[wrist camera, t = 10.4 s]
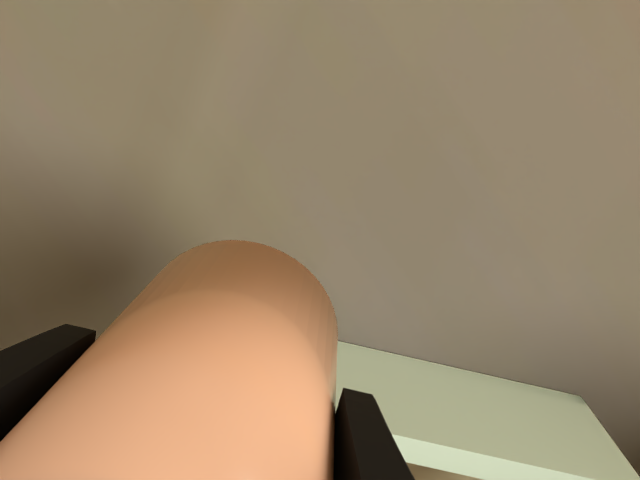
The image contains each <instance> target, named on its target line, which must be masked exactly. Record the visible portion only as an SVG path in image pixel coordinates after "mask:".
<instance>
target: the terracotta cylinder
mask: <svg viewBox="0 0 640 480" xmlns="http://www.w3.org/2000/svg"><path fill="white" fill-rule="evenodd" d="M337 344H338V328H337V320H336V316H335V312H334V308H333V306H332V303H331V301H330V298H329V296H328V295H327V293H326V291H325V290H324V288H323V286H322V285H321V284H320V282H319V281H318V280H317V279H316V277H315V276H314V275H313V274H312V273H311V272H310V271H309V270H308V269H307V268H306V267H305V266H303V265H302V264H301V263H299V262H298V261H297V260H295V259H294V258H292V257H290V256H289V255H287V254H285V253H284V252H281V251H279V250H277V249H275V248H272V247H269V246H266V245H263V244H259V243H255V242H249V241H240V240H225V241H216V242H211V243H206V244H203V245H200V246H197V247H194V248H192V249H190V250H188V251H186V252H184V253H182V254H180V255H179V256H178V257H176V258H175V259H173V260H172V261H171V262H170V263H169V264H168V265H167V266H166V267H164V268H163V269H162V270H161V272H160V273H159V274H158V275H157V276H156V277H155V278H154V279H153V280H152V281H151V282H150V283H149V284H148V285H147V286H146V288H145V289H144V290H143V291H142V292H141V293H140V294H139V295H138V296H137V297H136V298H135V299H134V300H133V301H132V302H131V303H130V305H129V306H128V307H127V308H126V309H125V310H124V311H123V312H122V313H121V314H120V315H119V316H118V317H117V318H116V319H115V320H114V322H113V323H112V324H111V325H110V326H109V327H108V328H107V329H106V330H105V331H104V332H103V333H102V334H101V335H100V336H99V337H98V339H97V340H96V341H95V342H94V343H93V344H92V345H91V346H90V347H89V348H88V349H87V350H86V351H85V352H84V353H83V354H82V356H81V357H80V358H79V359H78V360H77V361H76V362H75V363H74V364H73V365H72V366H71V367H70V368H69V369H68V370H67V371H66V373H65V374H64V375H63V376H62V377H61V378H60V379H59V380H58V381H57V382H56V383H55V384H54V385H53V386H52V387H51V389H50V390H49V391H48V392H47V393H46V394H45V395H44V396H43V397H42V398H41V399H40V400H39V401H38V402H37V403H36V404H35V406H34V407H33V408H32V409H31V410H30V411H29V412H28V413H27V414H26V415H25V416H24V417H23V418H22V419H21V420H20V421H19V423H18V424H17V425H16V426H15V427H14V428H13V429H12V430H11V431H10V432H9V433H8V434H7V435H6V436H5V437H4V438H3V440H2V441H1V442H0V480H333V474H334V442H335V409H336V377H337Z"/></svg>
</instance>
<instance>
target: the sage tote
mask: <svg viewBox="0 0 640 480" xmlns="http://www.w3.org/2000/svg"><path fill="white" fill-rule="evenodd" d="M343 388H347V389H351V390H356V391H360V392H364V393H369V394H372V395H373V396H374V398H375V400H376V401H377V404H378V406H379V408H380V410H381V412H382V415H383V417H384V419H385V421H386V423H387V425H388V428H389V430H390V432H391V434H392V436H393V438H394V440H395V442H396V444H397V446H398V448H399V450H400V452H401V454H402V456H403V458H404V460H405V462H407V463H412V464H416V465H421V466H425V467H430V468H434V469H439V470H443V471H448V472H452V473H457V474H461V475H466V476H470V477H475V478H479V479H484V480H640V477H639V476H638V474H637V473H636V471H635V470H634V469H633V467H632V466H631V465H630V463H629V462H628V460H627V459H626V458H625V456H624V455H623V454H622V452H621V451H620V449H619V448H618V447H617V445H616V444H615V443H614V441H613V440H612V438H611V437H610V436H609V434H608V433H607V432H606V430H605V429H604V427H603V426H602V425H601V423H600V422H599V421H598V419H597V418H596V416H595V415H594V414H593V412H592V411H591V410H590V408H589V407H588V405H587V404H586V403H585V401H584V400H583V399H582V397H581V396H578V395H573V394H569V393H564V392H560V391H556V390H551V389H547V388H542V387H538V386H534V385H529V384H525V383H520V382H516V381H512V380H507V379H503V378H499V377H494V376H490V375H485V374H481V373H477V372H472V371H468V370H463V369H459V368H455V367H450V366H446V365H442V364H437V363H433V362H428V361H424V360H420V359H415V358H411V357H406V356H402V355H398V354H393V353H389V352H385V351H380V350H376V349H371V348H367V347H363V346H358V345H354V344H349V343H345V342H341V341H338V344H337V377H336V409H335V413H336V410H337V407H338V403H339V400H340V396H341V393H342V390H343Z"/></svg>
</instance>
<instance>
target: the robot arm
mask: <svg viewBox="0 0 640 480" xmlns="http://www.w3.org/2000/svg"><path fill="white" fill-rule="evenodd" d="M95 336H96V331H94V330H90V329H86V328H81V327H77V326H73V325H68V324H65V325H62V326H59V327H56V328H54V329H51V330H49V331H46V332H44V333H41V334H39V335H37V336H34V337H32V338H30V339H27V340H25V341H23V342H20V343H18V344H16V345H13V346H11V347H9V348H6V349H4V350H2V351H0V442H1V441H2V440H3V438H4V437H5V436H6V435H7V434H8V433H9V432H10V431H11V430H12V429H13V428H14V427H15V426H16V425H17V424H18V423H19V421H20V420H21V419H22V418H23V417H24V416H25V415H26V414H27V413H28V412H29V411H30V410H31V409H32V408H33V407H34V406H35V404H36V403H37V402H38V401H39V400H40V399H41V398H42V397H43V396H44V395H45V394H46V393H47V392H48V391H49V390H50V389H51V387H52V386H53V385H54V384H55V383H56V382H57V381H58V380H59V379H60V378H61V377H62V376H63V375H64V374H65V373H66V371H67V370H68V369H69V368H70V367H71V366H72V365H73V364H74V363H75V362H76V361H77V360H78V359H79V358H80V357H81V356H82V354H83V353H84V352H85V351H86V350H87V349H88V348H89V347H90V346H91V345H92V344H93V343H94V342H95ZM333 480H415V478H414V476H413V475H412V473H411V471H410V469H409V467H408V465H407V463H406V462H405V460H404V458H403V456H402V454H401V452H400V450H399V448H398V446H397V444H396V442H395V440H394V438H393V436H392V434H391V432H390V430H389V428H388V425H387V423H386V421H385V419H384V417H383V415H382V412H381V410H380V408H379V406H378V404H377V401H376V400H375V398H374V396H373V395H372V394H369V393H364V392H360V391H356V390H351V389H347V388H343V390H342V393H341V396H340V400H339V403H338V407H337V410H336V413H335V442H334V474H333Z"/></svg>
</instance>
